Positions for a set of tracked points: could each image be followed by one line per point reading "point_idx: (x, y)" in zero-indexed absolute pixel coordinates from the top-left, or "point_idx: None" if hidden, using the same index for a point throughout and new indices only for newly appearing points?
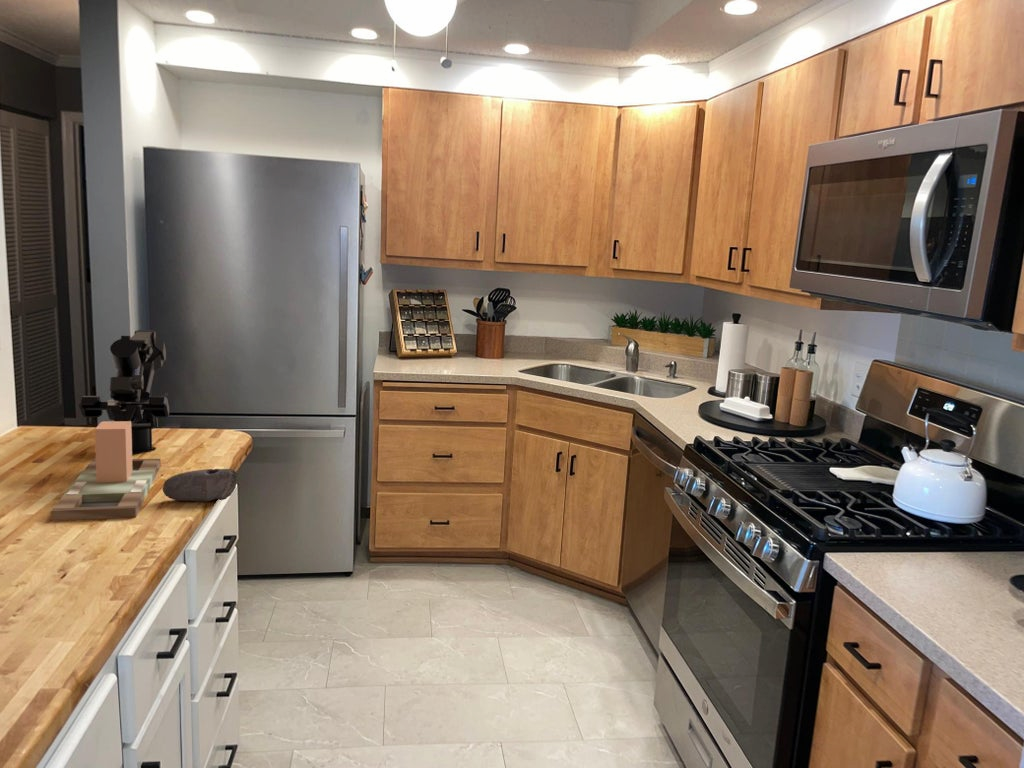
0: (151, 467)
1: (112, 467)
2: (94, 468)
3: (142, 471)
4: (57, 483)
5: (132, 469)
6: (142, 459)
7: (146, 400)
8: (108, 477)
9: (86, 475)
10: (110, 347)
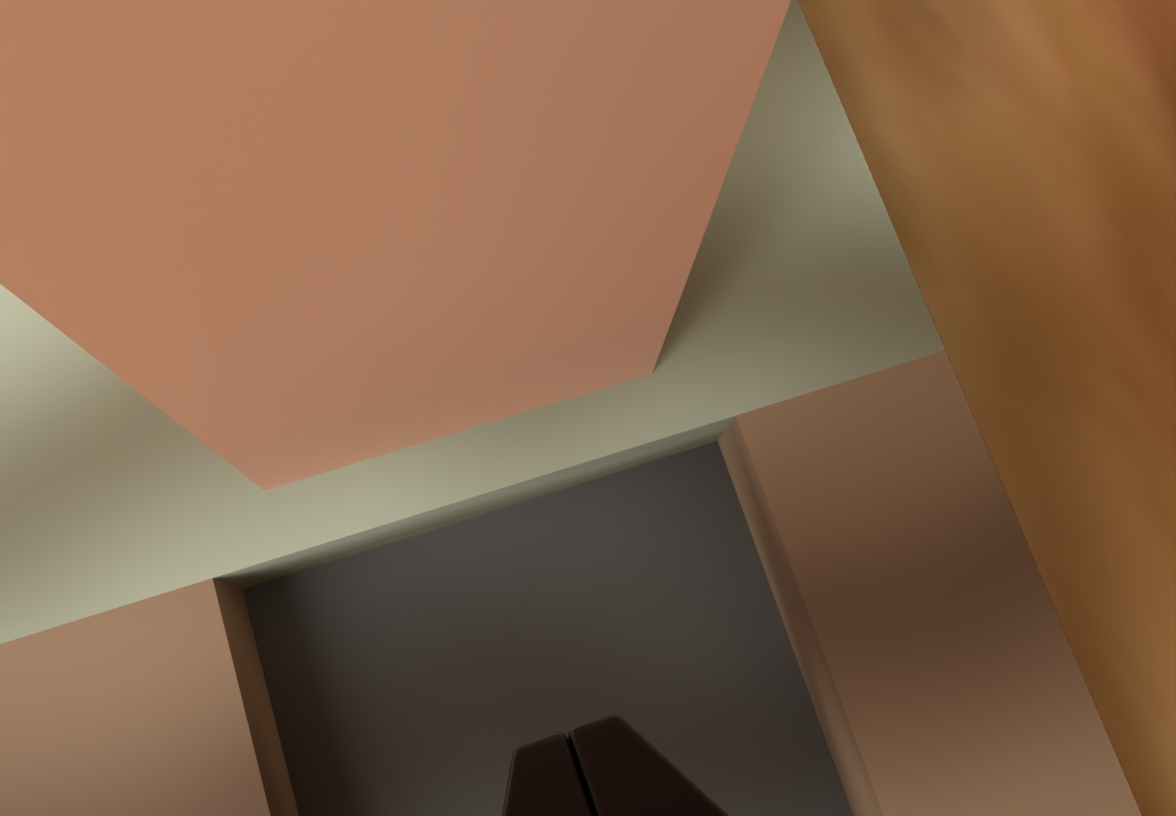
0: (63, 784)
1: None
2: (885, 530)
3: (125, 544)
4: (1100, 224)
5: (254, 481)
6: None
7: None
8: None
9: (796, 213)
10: None
